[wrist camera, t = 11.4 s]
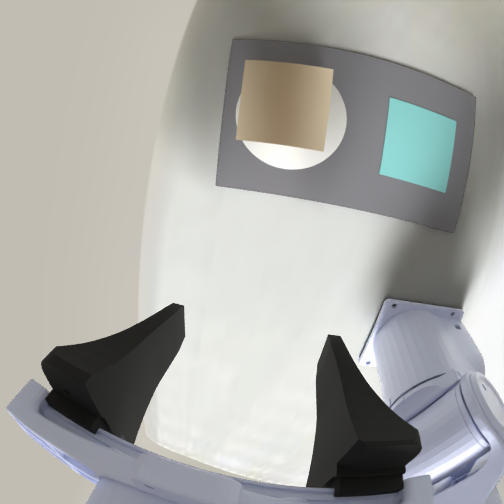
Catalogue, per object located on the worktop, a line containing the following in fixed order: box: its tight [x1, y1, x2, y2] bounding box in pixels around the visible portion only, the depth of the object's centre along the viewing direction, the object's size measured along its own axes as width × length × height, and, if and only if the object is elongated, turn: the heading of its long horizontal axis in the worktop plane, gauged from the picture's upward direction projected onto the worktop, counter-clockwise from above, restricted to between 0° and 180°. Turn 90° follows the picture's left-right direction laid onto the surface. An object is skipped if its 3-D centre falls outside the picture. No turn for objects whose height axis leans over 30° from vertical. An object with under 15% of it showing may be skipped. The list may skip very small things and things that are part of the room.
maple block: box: [236, 60, 334, 152], centre depth 15 cm, size 4×4×6 cm
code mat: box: [216, 39, 476, 233], centre depth 17 cm, size 20×12×1 cm, turn 84°
